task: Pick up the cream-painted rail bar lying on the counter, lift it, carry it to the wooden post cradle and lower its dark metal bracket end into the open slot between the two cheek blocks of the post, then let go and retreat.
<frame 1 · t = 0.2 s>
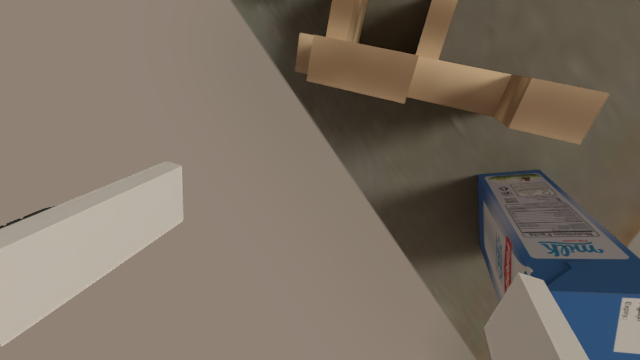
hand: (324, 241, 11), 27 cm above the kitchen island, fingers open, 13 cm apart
milk carton: (506, 209, 36), on the kitchen island
wooden post cradle: (417, 72, 33), on the kitchen island
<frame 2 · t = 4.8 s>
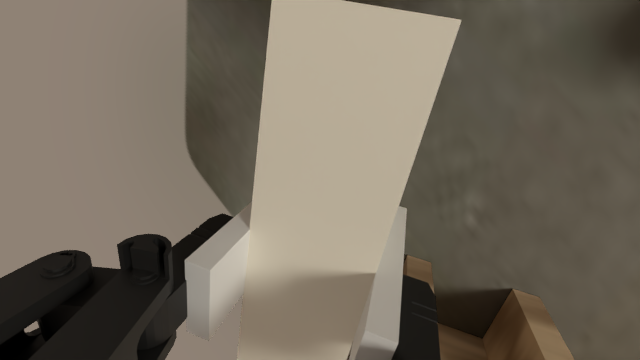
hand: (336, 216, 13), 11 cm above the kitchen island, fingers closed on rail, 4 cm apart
wooden post cradle: (484, 353, 26), on the kitchen island
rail: (338, 217, 14), point 10 cm above the kitchen island, touching gripper
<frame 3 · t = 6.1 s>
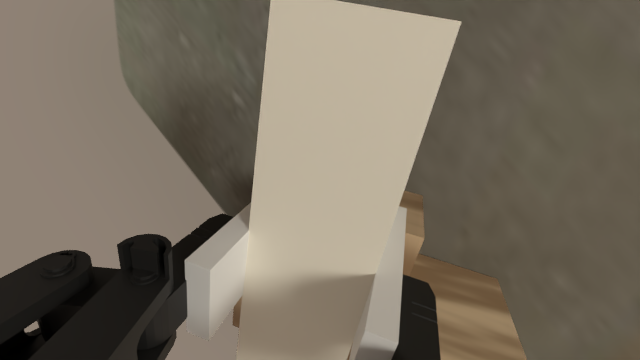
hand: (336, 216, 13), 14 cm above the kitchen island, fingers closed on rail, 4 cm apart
wooden post cradle: (386, 256, 30), on the kitchen island
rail: (337, 218, 14), point 14 cm above the kitchen island, touching gripper
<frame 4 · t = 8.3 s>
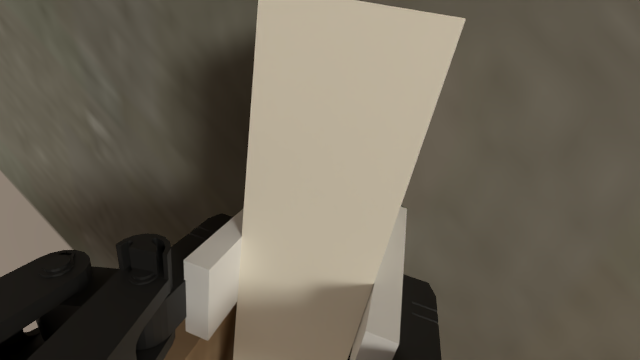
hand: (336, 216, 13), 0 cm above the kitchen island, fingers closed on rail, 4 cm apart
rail: (336, 219, 13), on the kitchen island, touching gripper
when the fingers open (0 cm above the kitchen island, at t = 9.5 s): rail stays where it is, on the kitchen island.
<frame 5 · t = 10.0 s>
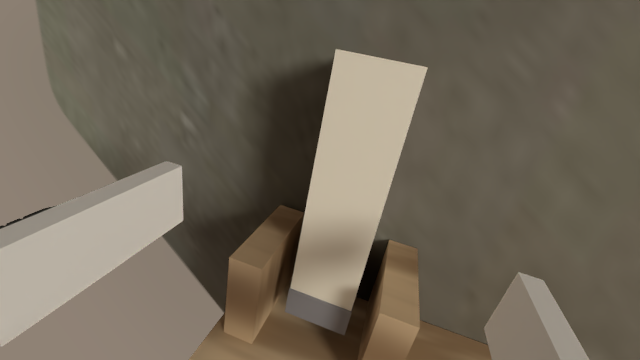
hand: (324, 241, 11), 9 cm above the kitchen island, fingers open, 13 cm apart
wooden post cradle: (372, 318, 24), on the kitchen island
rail: (356, 183, 20), on the kitchen island
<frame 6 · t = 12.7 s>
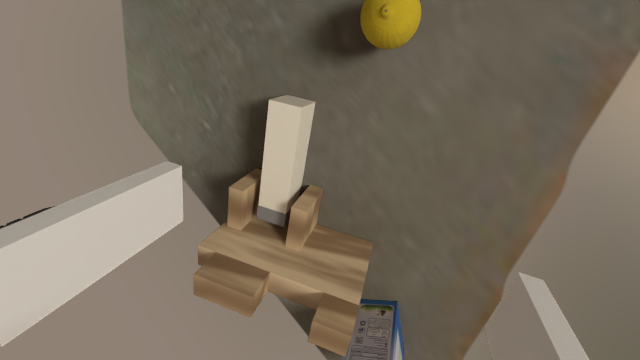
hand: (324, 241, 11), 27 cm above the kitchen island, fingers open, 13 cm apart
lemon: (393, 22, 31), on the kitchen island
milk carton: (381, 323, 47), on the kitchen island
wooden post cradle: (306, 229, 44), on the kitchen island
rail: (292, 156, 41), on the kitchen island
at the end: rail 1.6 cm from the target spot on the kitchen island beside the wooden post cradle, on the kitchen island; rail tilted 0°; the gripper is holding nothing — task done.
